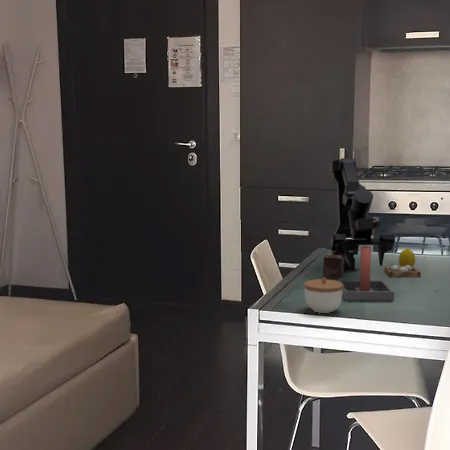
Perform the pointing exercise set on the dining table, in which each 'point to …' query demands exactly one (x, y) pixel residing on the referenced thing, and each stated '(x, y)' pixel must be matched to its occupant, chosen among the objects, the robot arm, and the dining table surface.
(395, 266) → the grey sphere
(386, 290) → the bin
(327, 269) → the box
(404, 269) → the grey ball
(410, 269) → the pebble
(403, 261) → the lemon
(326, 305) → the lidded jar
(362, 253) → the red post on base
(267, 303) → the dining table surface
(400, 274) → the pebble tray
